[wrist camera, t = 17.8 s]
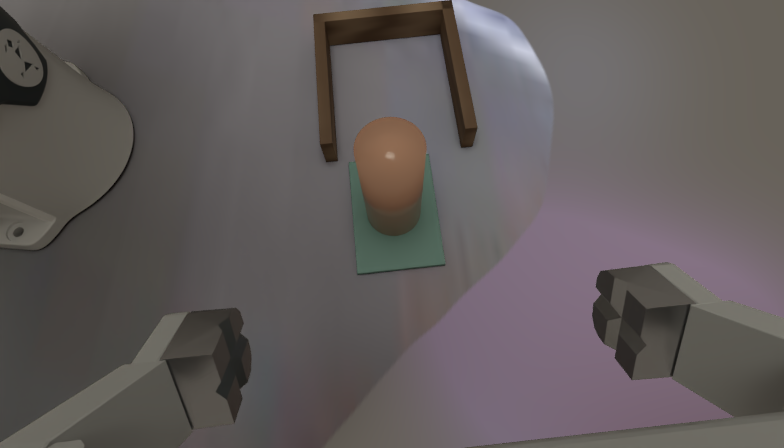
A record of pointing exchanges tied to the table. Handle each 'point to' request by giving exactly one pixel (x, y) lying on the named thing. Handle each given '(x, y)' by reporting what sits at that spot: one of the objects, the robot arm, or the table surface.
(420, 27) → the frame
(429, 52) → the table surface
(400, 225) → the terracotta canister
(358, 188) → the pad
